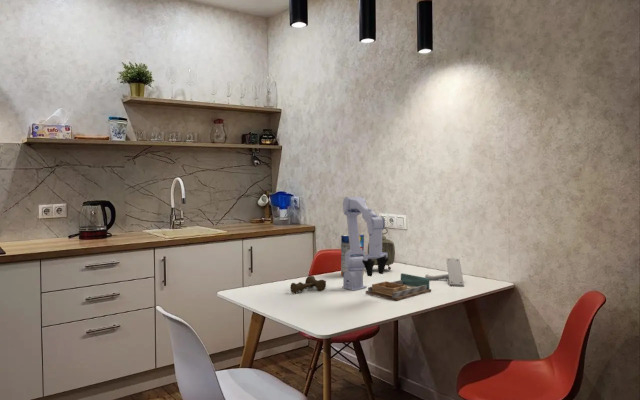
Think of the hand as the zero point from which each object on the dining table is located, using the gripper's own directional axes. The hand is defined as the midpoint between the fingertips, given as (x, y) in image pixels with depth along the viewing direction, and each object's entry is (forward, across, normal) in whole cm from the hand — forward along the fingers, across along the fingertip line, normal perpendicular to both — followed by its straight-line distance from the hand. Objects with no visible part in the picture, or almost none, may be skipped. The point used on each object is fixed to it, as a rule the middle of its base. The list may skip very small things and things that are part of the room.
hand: (375, 274), depth 211 cm
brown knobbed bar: (+11, -11, +31) cm, 34 cm away
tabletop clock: (+10, +51, +38) cm, 65 cm away
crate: (+9, +10, 0) cm, 13 cm away
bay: (+10, +17, 0) cm, 20 cm away
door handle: (+11, +52, -3) cm, 53 cm away
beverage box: (+11, +29, +41) cm, 51 cm away
